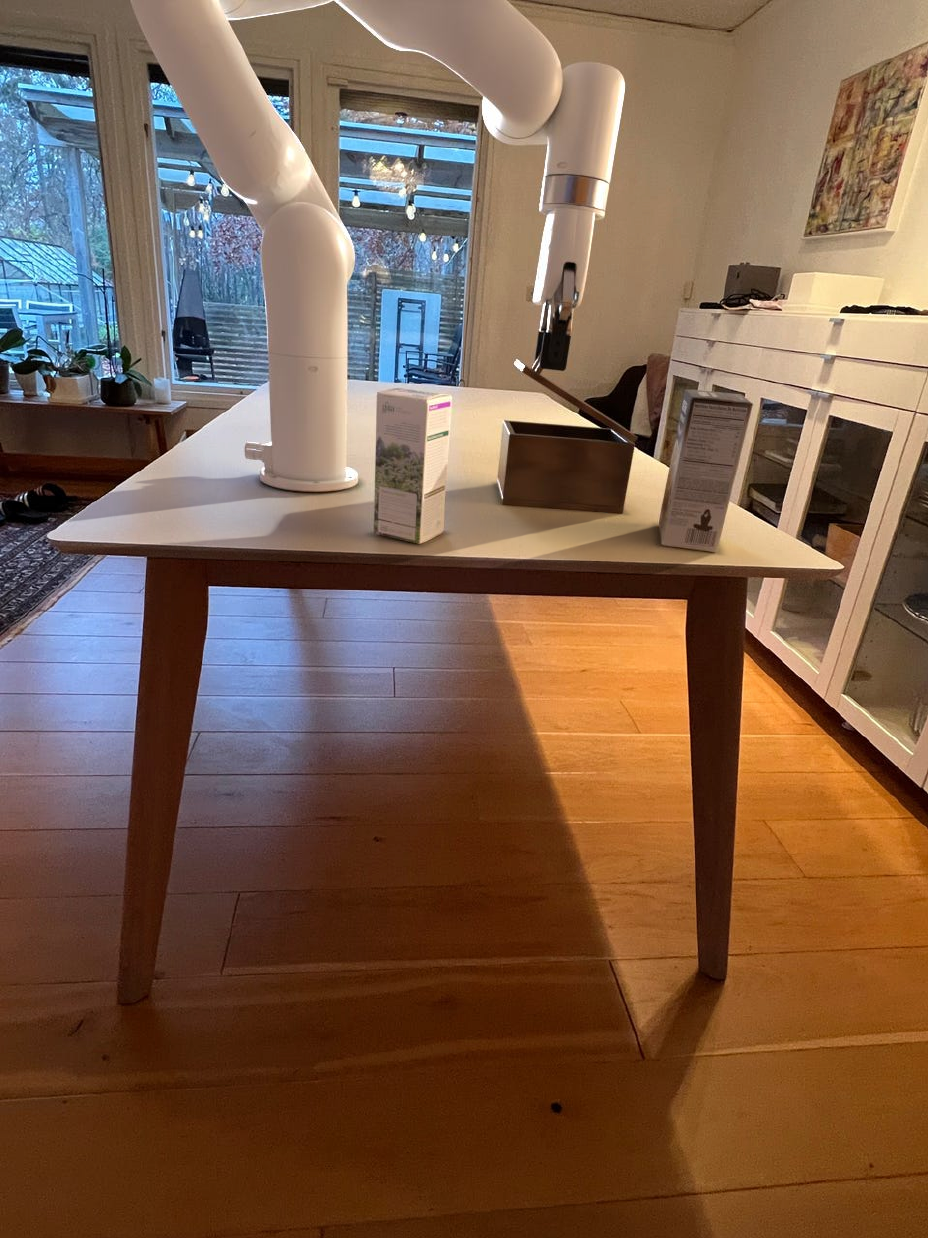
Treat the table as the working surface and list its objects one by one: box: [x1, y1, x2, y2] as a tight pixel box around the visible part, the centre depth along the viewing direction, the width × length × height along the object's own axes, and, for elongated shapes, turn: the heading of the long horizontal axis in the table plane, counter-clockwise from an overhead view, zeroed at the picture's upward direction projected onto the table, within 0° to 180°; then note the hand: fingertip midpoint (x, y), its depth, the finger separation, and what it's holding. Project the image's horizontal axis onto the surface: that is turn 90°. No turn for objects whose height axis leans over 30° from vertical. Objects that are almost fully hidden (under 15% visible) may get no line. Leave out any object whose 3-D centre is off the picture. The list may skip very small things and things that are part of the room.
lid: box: [513, 353, 638, 444], centre depth 88 cm, size 16×12×5 cm
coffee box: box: [658, 388, 754, 553], centre depth 77 cm, size 9×6×16 cm
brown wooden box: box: [496, 419, 636, 514], centre depth 92 cm, size 16×12×9 cm
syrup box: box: [373, 387, 453, 545], centre depth 71 cm, size 6×6×14 cm
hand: (549, 365), depth 87 cm, fingers closed on lid, 5 cm apart
